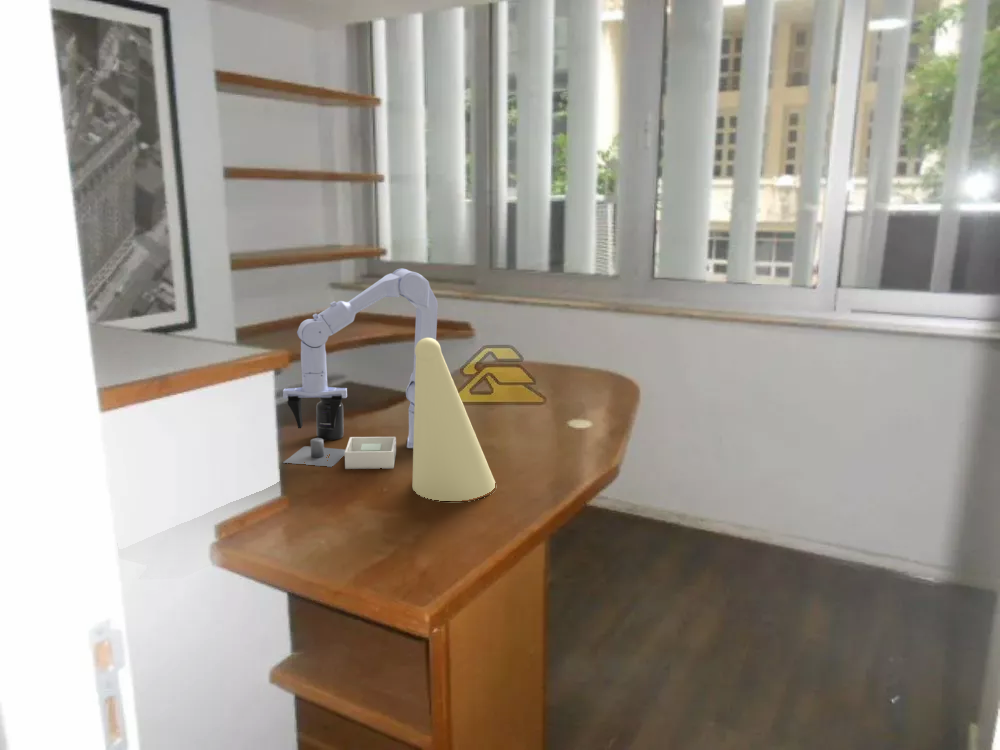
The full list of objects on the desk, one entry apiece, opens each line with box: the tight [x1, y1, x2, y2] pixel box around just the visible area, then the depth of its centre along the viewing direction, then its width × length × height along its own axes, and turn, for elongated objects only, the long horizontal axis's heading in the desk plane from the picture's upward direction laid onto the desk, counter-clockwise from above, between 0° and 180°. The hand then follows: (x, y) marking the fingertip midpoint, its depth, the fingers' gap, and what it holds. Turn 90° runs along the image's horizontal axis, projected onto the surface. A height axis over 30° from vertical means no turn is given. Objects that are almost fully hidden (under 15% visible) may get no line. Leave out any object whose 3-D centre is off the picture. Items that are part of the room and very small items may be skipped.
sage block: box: [361, 444, 382, 451], centre depth 178 cm, size 4×4×3 cm
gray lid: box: [282, 437, 346, 468], centre depth 180 cm, size 12×12×5 cm
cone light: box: [412, 338, 496, 502], centre depth 157 cm, size 25×18×35 cm
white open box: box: [344, 436, 397, 470], centre depth 178 cm, size 11×11×4 cm
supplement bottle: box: [315, 397, 345, 441], centre depth 194 cm, size 7×7×12 cm
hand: (316, 426), depth 179 cm, fingers open, 7 cm apart
